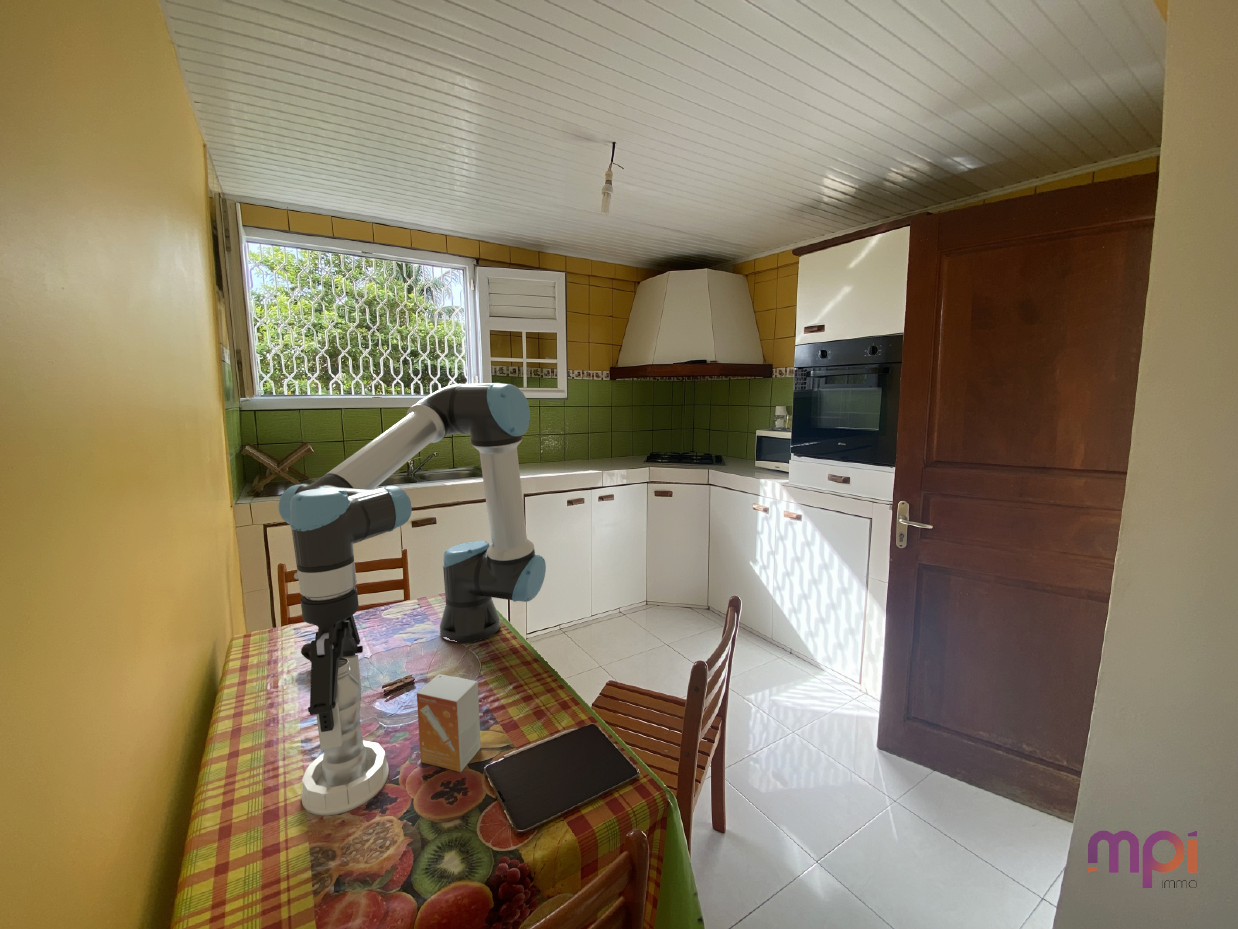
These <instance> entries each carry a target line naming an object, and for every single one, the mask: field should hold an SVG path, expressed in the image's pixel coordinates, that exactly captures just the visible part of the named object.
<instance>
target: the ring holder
mask: <svg viewBox="0 0 1238 929" xmlns="http://www.w3.org/2000/svg"><path fill="white" fill-rule="evenodd" d="M363 744H364V746H365V748H366V752H367V756H368V762H367V769H366V771H365V773H364V775H363V776H362V777H360V778H358V779H356V780H354V781H353V782H351V783H349V784H347V785H341V786H336V787H331V786H329V785H328V784H327V783H326V782H325V780H324V777H323V774H322V761H323V753H321V754H320V755H319V756H317V757H316V759H315V760H313V761H312V762H311V763H310V764H308V766H307V767H306V769H305V772H304V774H303V776H302V778H301V783H302V789H301V793H300V794H301V796H300V798H301V804H302V807H303V808H304V810H306V811H307V812H308V813H310V814H313V815H315V816H322V817H326V816H335V815H340V814H344V813H347V812H350V811H352V810H354V809H357V808H358V807H361V806H362V805H364V804H366V803H367V802H369V801H370V800H372V799H373V798H374V797H375V796H377V795H378V793H379V792H381V790H382V789H383V788H384V786H385V785H386V783H387V781H388V778H389V773H390V771H389V770H390V769H389V767H390V766H389V763H388V761H387V759H386V757H387V756H386V750H384V748H383V747H382V746H381V745H380V743H378V742H373V741H369V740H365V739H363Z"/></svg>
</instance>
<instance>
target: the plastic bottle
mask: <svg viewBox="0 0 1238 929" xmlns="http://www.w3.org/2000/svg"><path fill="white" fill-rule="evenodd" d="M349 673H350V667H349V660H348V659H347V658H344V657H342V658H341V659H340V660H339V665H338V677H337V690H336V703H338V706H339V715H340V724H341V733H342V742H343V743H342V746H339V747H333V748H328V749H322V750H323V753H322V754H323V761H322V774H323V777H324V780H325V782H326V783H327V784H328V785H329V786H331V787H336V786H341V785H347V784H349V783H351V782H353V781H354V780H356V779H358V778H360V777H362V776H363V775H364V773H365V771H366V769H367V762H368V756H367V752H366V748H365V746H364V744H363V740H364V739H363V734H362V729H361V700H362V690H361V688H362V686H361V687H360V685H359V683H358V681H357V680H356V679H355V678H354V677H352V676H351V675H350V674H349Z"/></svg>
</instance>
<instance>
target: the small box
mask: <svg viewBox="0 0 1238 929" xmlns="http://www.w3.org/2000/svg"><path fill="white" fill-rule="evenodd" d="M479 700H480V699H479V681H477V680H472V679H467V678H464V677H459V676H453V675H446V674H442V673H438V674H437V675H436V676H434V678H432V679H431V680H430V681H429V682H427V683H426V685H424V686H423V687H422V688H420V690H418V691H417V692H416V702H417V704H416V705H417V706H416V708H417V719H418V720H417V722H418V737H419V738H418V740H419V756H420V762H421V763H423V764H426V765H427V764H428V765H432V766H437V767H440V768H443V769H448V770H452V771H455V772H457V773H462V772H463V770H465V768H466V767H467V765H468V764H469V763H470V762H471V761H472V759H473V758H474V757H475V756H476V755H477V753H478V752H479V751H480V750H481V746H482V745H481V744H482V743H481V741H482V740H481V723H480V702H479Z"/></svg>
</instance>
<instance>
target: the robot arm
mask: <svg viewBox="0 0 1238 929" xmlns="http://www.w3.org/2000/svg"><path fill="white" fill-rule="evenodd" d="M530 421H531V411H530V404H529V402H528V400H527V398H526V396H525V394H524V392H523V391H522V390H521V389H520V388H519V387H518V386H516V385H513V384H512V383H501V382H488V383H486V382H482V383H480V382H479V383H456V384H450V385H447V386H445V387H441V388H440V389H438V390H436V391H434V392H432V393H430V394H428V395H427V396H425V397H423V398H422V399H420V400H419V401H417V402H416V403H414V404H413V405H411V406H410V407H409V408H408V410H407V411H406V416H405V417H403V418H402V419H400V420H399V421H397V422H396V423H394V425H392V426H391V427H389V428H388V429H386V430H385V431H384V432H382V433H381V434H379V435H378V436H377V437H375V438H374V439H373V440H371V441H370V442H368V443H367V444H365V445H364V446H363V447H362V448H360V449H358V451H356V452H354V453H353V454H352V455H350V456H349V457H347V458H346V459H345V460H343V461H342V462H341V463H339V464H337V466H335V467H334V468H332V469H331V470H330V471H328V472H327V473H326V474H324V475H323V476H321V477H320V478H317V480H316V481H314V482H312V483H311V484H309V483H302V484H295V485H291V486H290V487H287V489H285V490H284V492H282V494H281V496H280V498H279V501H278V512H279V515H280V517H281V519H282V520H283V521H284V522H285V523H286V524H288V525H289V526H290V529H291V535H292V542H293V550H294V554H295V555H294V556H295V561H296V570H297V572H294V576H293V578H294V579H296V580H298V586H299V587H298V588H299V593H300V595H301V598H300V608H301V616H302V620H303V622H304V623H306V624H309V625H314V626H316V627H317V628H318V629H317V631H316V632H315V636H314V637H315V638H314V639H313V640H311V641H310V643H311V644H310V647H311V658H312V659H311V661H310V663H311V666H310V688H309V689H310V692H309V693H310V694H309V696H310V697H309V707H307V711H308V713H309V715H310V716H315V715H316V721H317V729H318V730H317V731H318V739H319V748H320V751H321V750H323V749H328V748H333V747H339V746H342V743H343V742H342V733H341V724H340V715H339V706H338V703H336V690H337V677H338V665H339V660H340V659H341V658H342V657H343V655H344V656H345V657H344V658H347V659H348V660H349V667H350V673H349V674H350V675H351V676H352V677H354V678H355V679H356V680H357V681H358V683H359V685H360V687H361V691H362V681H361V680H362V679H361V670H360V660H359V654H362V653H363V652H364V647H363V645H360V643H361V638H360V634H359V631H358V628H357V625H356V622H355V618H354V615H355V614H356V613H357V612H358V610H359V606H360V605H359V598H358V597H359V596H358V594H359V593H358V588H357V587H356V585H357V573H356V564H355V556H354V555H355V554H354V544H358V543H361V542H362V541H366V540H368V539H370V538H374V537H376V536H380V535H382V534H385V533H389V532H390V533H391V532H393V531H394V530H395V529H398V528H399V527H402V526H404V525H405V524H407V523H408V521H409V519H410V518H411V516H412V511H413V510H412V503H411V502H412V501H411V498H410V497H409V494H408V493H407V492H406V491H405V490H404V489H402V487H399V486H396V485H387V486H380V485H381V484H382V483H384V481H386V480H387V479H389V477H391V476H392V475H393V474H394V473H395V472H396V471H398V470H399V469H400V468H402V466H404V465H405V464H406V463H407V462H409V461H410V460H411V459H413V457H415V456H416V455H417V454H418V453H419V452H421V451H422V450H423V449H425V448H426V447H427V446H428V445H429V444H432V443H433V444H435V443H438V442H440V441H441V440H443V439H444V438H445V437H448V436H452V435H457V434H458V435H459V434H461V435H462V434H463V435H469V437H470V443H471V447H473V448H475V449H476V450H477V451H478V452H479V458H480V466H481V473H482V480H483V488H484V496H485V502H486V503H485V504H486V512H487V519H488V526H489V535H490V540H491V545H490V543H489V542H488V541H485V540H476V541H475V540H474V541H468V542H463V543H459V544H456V545H453V546H451V547H448V549H446V550H445V551H444V553H443V564H442V568H443V569H442V570H443V582H444V596H445V597H444V598H445V605H444V610H443V613H442V616H441V620H440V624H439V633H440V637H441V636H442V637H447V638H449V639H450V640H455V641H457V642H459V643H458V644H464V643H465V644H467V643H474V642H478V641H482V640H485V639H488V638H490V637H491V636H493V635H495V634H496V633H497V632H498V631H499V630H500V628H501V627H500V626H501V625H500V616H499V613H498V611H497V608H496V606H495V603H494V601H493V599H501V600H508V601H512V602H514V603H517V602H523V603H524V602H525V603H528V602H531V601H532V600H534V599H535V598H536V596H538V594H539V592H540V591H541V589H542V587H543V584H544V581H545V577H546V568H547V565H546V564H547V563H546V560H545V558H544V557H543V556H542V555H540V554H536V551H535V544H534V542H532V541H531V540H530V539H528V534H527V527H526V519H525V509H524V498H523V490H522V481H521V474H520V473H521V472H520V464H519V456H518V455H519V454H518V446H519V445H520V444H521V442H522V441H523V435H524V434H525V433H527V431H528V429H529V427H530V423H529V422H530ZM492 598H493V599H492ZM442 637H441V638H442ZM333 652H335V653H333Z"/></svg>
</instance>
